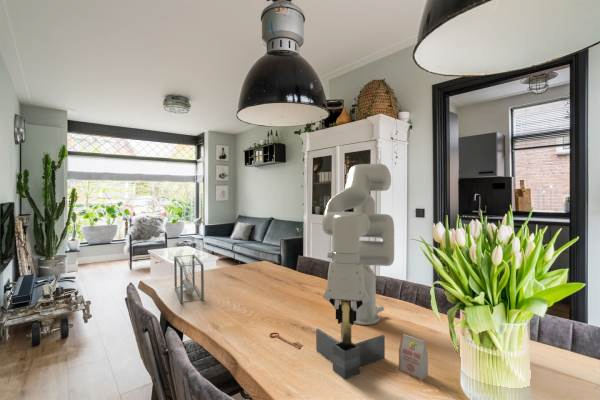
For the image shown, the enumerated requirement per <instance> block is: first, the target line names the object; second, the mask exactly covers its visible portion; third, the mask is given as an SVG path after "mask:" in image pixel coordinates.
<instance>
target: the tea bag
mask: <svg viewBox="0 0 600 400" xmlns="http://www.w3.org/2000/svg"><path fill="white" fill-rule="evenodd" d="M398 371H400V372H401V373H404V374H406V375H409V376H411V377H413V378H415V379H418V380H420V381H422V380H424V379H425V378H427V377H428V375H429V352H428V349H427V345H426V341H425V340H421V339H420V338H416V337H413V336H411V335H407V334H405V333H401V339H400V344H399V347H398Z"/></svg>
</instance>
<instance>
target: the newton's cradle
mask: <svg viewBox="0 0 600 400" xmlns="http://www.w3.org/2000/svg"><path fill="white" fill-rule="evenodd" d="M173 259H174V260H173V263H174V267H173V268H174V274H173V275H174V290H175V292H176V295H177V297H178V299H179V302H180V304H183V303H185V302H192V301H199V300H201V301H203V300H204V299H205V291H204V290H205V289H204V288H205V287H204V284H205V282H204V281H205V279H204V278H205V277H204V274H205V273H204V271H205V269H204V264H203V262H202V261H201V260H200V259H199V258H198V257H197V255H196V254H189V255H186V259H185V262H186V263H185V262H184V255H179V256H178V255H174V257H173ZM188 259H189V261H190V262H189V263H188ZM177 264H178V266H179V278H180V281H179V282H180V283H179V286H178V281H177V279H178V278H177V277H178V275H177V272H178V269H177ZM195 266H200V279H201V280H200V283H201V285H200V288H201V289H200V290H199V289H198V288H197V287H198V286H197V285H196V283H195V282H196V280H195V279H196V278H195V276H196V274H195V273H196V272H195V271H196V270H195ZM187 267H189V268H188V269H187ZM183 274H184V275H183ZM184 277H185V278H184ZM178 288H180V290H179V289H178ZM184 288H185V291H186V293H187V294H189V295H191V294H193V293H194V292H196V293H197V295H198V297H199V298H194V299H186V300H184ZM200 291H201V292H200Z"/></svg>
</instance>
